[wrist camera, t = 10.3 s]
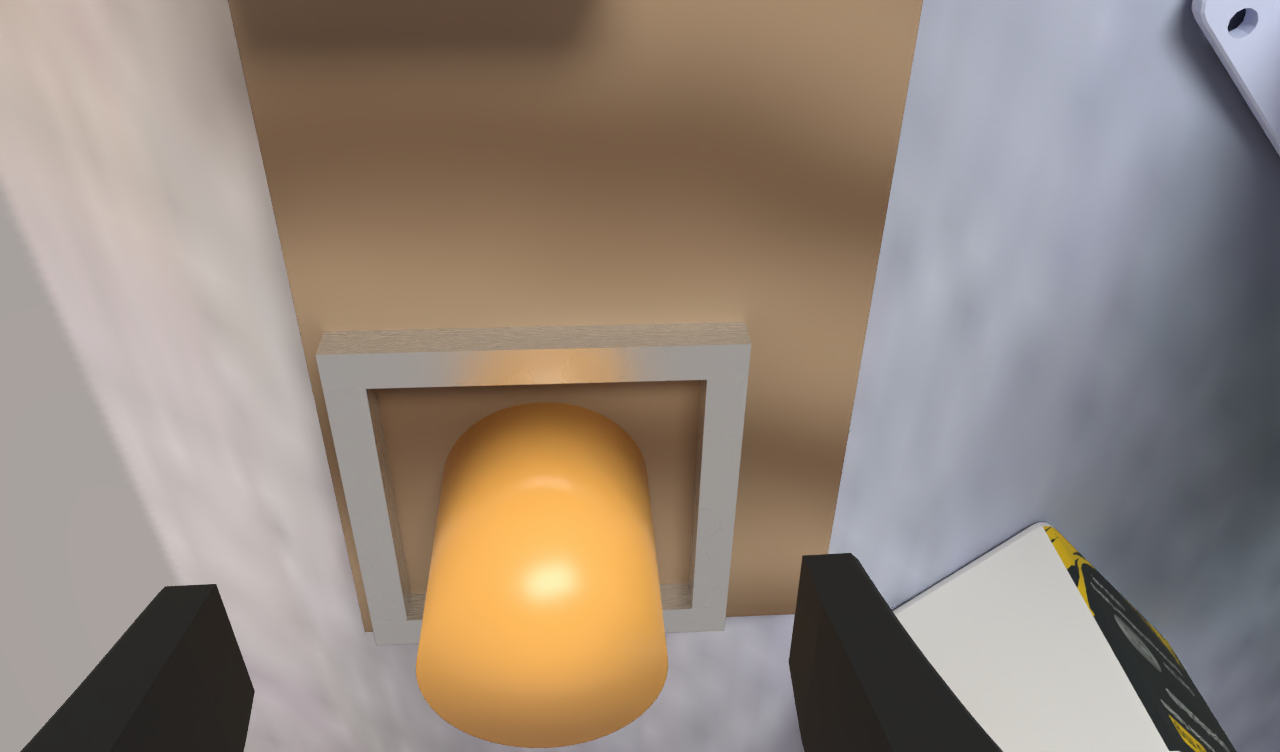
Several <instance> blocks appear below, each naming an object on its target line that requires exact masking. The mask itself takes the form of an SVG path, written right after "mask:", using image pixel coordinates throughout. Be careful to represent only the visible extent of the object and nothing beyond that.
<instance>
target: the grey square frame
mask: <svg viewBox="0 0 1280 752" xmlns="http://www.w3.org/2000/svg"><path fill="white" fill-rule="evenodd" d="M750 353H751V341H750V338H749V334H748V331H747V327H746V324H745V322H707V323H664V324H621V325H578V326H535V327H492V328H449V329H406V330H363V331H324V332H323V335H322V338H321V341H320V343H319V346H318V349H317V352H316V360H317V365H318V369H319V374H320V379H321V384H322V389H323V393H324V398H325V403H326V408H327V412H328V417H329V422H330V427H331V431H332V436H333V441H334V446H335V451H336V455H337V460H338V465H339V470H340V474H341V479H342V484H343V489H344V493H345V498H346V503H347V508H348V512H349V517H350V522H351V527H352V532H353V536H354V541H355V546H356V551H357V555H358V560H359V565H360V570H361V574H362V579H363V584H364V589H365V594H366V598H367V603H368V608H369V613H370V617H371V622H372V627H373V632H374V636H375V641H376V645H396V644H419V641H420V634H421V627H422V620H423V613H424V606H425V599H426V593H422V594H411V588H410V582H409V576H408V571H407V565H406V559H405V553H404V547H403V541H402V536H401V530H400V524H399V518H398V512H397V506H396V500H395V495H394V489H393V483H392V477H391V471H390V465H389V460H388V454H387V448H386V442H385V436H384V430H383V425H382V419H381V413H380V407H379V401H378V395H377V390H376V389H379V388H416V387H453V386H491V385H528V384H565V383H603V382H640V381H677V380H701V385H700V401H699V418H698V434H697V451H696V467H695V484H694V500H693V516H692V533H691V549H690V566H689V582H688V583H675V584H660V593H661V602H662V611H663V620H664V629H665V633H678V632H702V631H724V628H725V618H726V607H727V597H728V586H729V575H730V565H731V554H732V544H733V533H734V522H735V512H736V501H737V491H738V480H739V469H740V459H741V448H742V438H743V427H744V416H745V406H746V395H747V385H748V374H749V363H750Z"/></svg>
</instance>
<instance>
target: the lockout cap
mask: <svg viewBox="0 0 1280 752" xmlns="http://www.w3.org/2000/svg"><path fill="white" fill-rule="evenodd" d="M667 671H668V656H667V647H666V638H665V629H664V620H663V611H662V602H661V593H660V584H659V575H658V566H657V557H656V548H655V539H654V530H653V521H652V512H651V503H650V494H649V485H648V476H647V469H646V464H645V460H644V458H643V456H642V453H641V451H640V449H639V448H638V446H637V444H636V443H635V441H634V440H633V439H632V438H631V437H630V435H629V434H628V433H627V432H626V431H625V430H623V429H622V428H621V427H620V426H619V425H618V424H616V423H615V422H613V421H612V420H610V419H609V418H607V417H605V416H603V415H601V414H599V413H597V412H594V411H592V410H589V409H586V408H583V407H579V406H575V405H571V404H564V403H556V402H537V403H526V404H521V405H516V406H512V407H509V408H505V409H502V410H499V411H497V412H495V413H492V414H490V415H488V416H486V417H485V418H483V419H481V420H479V421H478V422H476V423H475V424H474V425H472V426H471V427H470V428H468V429H467V430H466V431H465V432H464V433H463V434H462V435H461V436H460V437H459V439H458V440H457V441H456V443H455V444H454V446H453V447H452V449H451V451H450V453H449V455H448V457H447V460H446V463H445V466H444V473H443V480H442V487H441V494H440V501H439V508H438V515H437V522H436V529H435V536H434V543H433V550H432V557H431V564H430V571H429V578H428V585H427V592H426V599H425V606H424V613H423V620H422V627H421V634H420V641H419V648H418V655H417V662H416V676H417V681H418V685H419V688H420V690H421V692H422V694H423V696H424V698H425V700H426V701H427V703H428V704H429V705H430V707H431V708H432V709H433V710H434V711H435V712H436V713H437V714H438V715H439V716H440V717H441V718H443V719H444V720H445V721H447V722H448V723H449V724H451V725H453V726H454V727H456V728H458V729H459V730H461V731H463V732H465V733H468V734H470V735H472V736H474V737H477V738H480V739H483V740H486V741H489V742H493V743H498V744H502V745H508V746H515V747H526V748H552V747H563V746H569V745H575V744H580V743H584V742H588V741H592V740H595V739H598V738H601V737H603V736H606V735H608V734H611V733H613V732H615V731H617V730H619V729H621V728H623V727H625V726H626V725H628V724H630V723H631V722H633V721H634V720H635V719H637V718H638V717H639V716H641V715H642V714H643V713H644V712H645V711H646V710H647V709H648V708H649V707H650V706H651V705H652V704H653V702H654V701H655V700H656V699H657V697H658V695H659V694H660V692H661V690H662V688H663V686H664V683H665V680H666V677H667Z"/></svg>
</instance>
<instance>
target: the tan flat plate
mask: <svg viewBox="0 0 1280 752" xmlns="http://www.w3.org/2000/svg"><path fill="white" fill-rule="evenodd" d="M228 3H229V7H230V12H231V17H232V21H233V26H234V30H235V35H236V40H237V44H238V49H239V53H240V58H241V63H242V67H243V72H244V76H245V81H246V86H247V90H248V95H249V99H250V104H251V109H252V113H253V118H254V122H255V127H256V132H257V136H258V141H259V146H260V150H261V155H262V159H263V164H264V169H265V173H266V178H267V182H268V187H269V192H270V196H271V201H272V205H273V210H274V215H275V219H276V224H277V228H278V233H279V238H280V242H281V247H282V251H283V256H284V261H285V265H286V270H287V274H288V279H289V284H290V288H291V293H292V298H293V302H294V307H295V311H296V316H297V321H298V325H299V330H300V334H301V339H302V344H303V348H304V353H305V357H306V362H307V367H308V371H309V376H310V380H311V385H312V390H313V394H314V399H315V403H316V408H317V413H318V417H319V422H320V427H321V431H322V436H323V440H324V445H325V450H326V454H327V459H328V463H329V468H330V473H331V477H332V482H333V486H334V491H335V496H336V500H337V505H338V509H339V514H340V519H341V523H342V528H343V532H344V537H345V542H346V546H347V551H348V555H349V560H350V565H351V569H352V574H353V579H354V583H355V588H356V592H357V597H358V602H359V606H360V611H361V615H362V620H363V625H364V629H365V632H373V627H372V622H371V617H370V613H369V608H368V603H367V598H366V594H365V589H364V584H363V579H362V574H361V570H360V565H359V560H358V555H357V551H356V546H355V541H354V536H353V532H352V527H351V522H350V517H349V512H348V508H347V503H346V498H345V493H344V489H343V484H342V479H341V474H340V470H339V465H338V460H337V455H336V451H335V446H334V441H333V436H332V431H331V427H330V422H329V417H328V412H327V408H326V403H325V398H324V393H323V389H322V384H321V379H320V374H319V369H318V365H317V360H316V352H317V349H318V346H319V343H320V341H321V338H322V335H323V332H324V331H363V330H406V329H449V328H492V327H535V326H578V325H621V324H664V323H707V322H745V324H746V327H747V331H748V334H749V338H750V341H751V353H750V363H749V374H748V385H747V395H746V406H745V416H744V427H743V438H742V448H741V459H740V469H739V480H738V491H737V501H736V512H735V522H734V533H733V544H732V554H731V565H730V575H729V586H728V597H727V607H726V617H735V616H759V615H783V614H795V610H796V602H797V594H798V587H799V579H800V571H801V563H802V555H822V554H828V549H829V543H830V538H831V532H832V526H833V520H834V514H835V509H836V503H837V497H838V491H839V485H840V480H841V474H842V468H843V462H844V456H845V451H846V445H847V439H848V433H849V427H850V422H851V416H852V410H853V404H854V398H855V393H856V387H857V381H858V375H859V369H860V364H861V358H862V352H863V346H864V340H865V335H866V329H867V323H868V317H869V311H870V306H871V300H872V294H873V288H874V282H875V277H876V271H877V265H878V259H879V253H880V248H881V242H882V236H883V230H884V224H885V219H886V213H887V207H888V201H889V195H890V190H891V184H892V178H893V172H894V166H895V161H896V155H897V149H898V143H899V137H900V132H901V126H902V120H903V114H904V108H905V103H906V97H907V91H908V85H909V79H910V74H911V68H912V62H913V56H914V50H915V45H916V39H917V33H918V27H919V21H920V16H921V10H922V4H923V0H228ZM700 385H701V380H677V381H640V382H603V383H565V384H528V385H491V386H453V387H416V388H379V389H376V390H377V395H378V401H379V407H380V413H381V419H382V425H383V430H384V436H385V442H386V448H387V454H388V460H389V465H390V471H391V477H392V483H393V489H394V495H395V500H396V506H397V512H398V518H399V524H400V530H401V536H402V541H403V547H404V553H405V559H406V565H407V571H408V576H409V582H410V588H411V594H422V593H426V592H427V585H428V578H429V571H430V564H431V557H432V550H433V543H434V536H435V529H436V522H437V515H438V508H439V501H440V494H441V487H442V480H443V473H444V466H445V463H446V460H447V457H448V455H449V453H450V451H451V449H452V447H453V446H454V444H455V443H456V441H457V440H458V439H459V437H460V436H461V435H462V434H463V433H464V432H465V431H466V430H467V429H468V428H470V427H471V426H472V425H474V424H475V423H476V422H478V421H479V420H481V419H483V418H485V417H486V416H488V415H490V414H492V413H495V412H497V411H499V410H502V409H505V408H509V407H512V406H516V405H521V404H526V403H537V402H556V403H564V404H571V405H575V406H579V407H583V408H586V409H589V410H592V411H594V412H597V413H599V414H601V415H603V416H605V417H607V418H609V419H610V420H612V421H613V422H615V423H616V424H618V425H619V426H620V427H621V428H622V429H623V430H625V431H626V432H627V433H628V434H629V435H630V437H631V438H632V439H633V440H634V441H635V443H636V444H637V446H638V448H639V449H640V451H641V453H642V456H643V458H644V460H645V464H646V469H647V476H648V485H649V494H650V503H651V512H652V521H653V530H654V539H655V548H656V557H657V566H658V575H659V584H675V583H688V582H689V566H690V549H691V533H692V516H693V500H694V484H695V467H696V451H697V434H698V418H699V401H700Z"/></svg>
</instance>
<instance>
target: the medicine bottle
mask: <svg viewBox="0 0 1280 752" xmlns="http://www.w3.org/2000/svg"><path fill="white" fill-rule="evenodd" d="M893 613H894V614H895V616H896V617H897V619H898V620H899V621H900V623H901V624H902V625H903V627H904V628H905V630H906V631H907V632H908V634H909V635H910V637H911V638H912V639H913V641H914V642H915V643H916V645H917V646H918V647H919V649H920V650H921V651H922V653H923V654H924V655H925V657H926V658H927V659H928V661H929V662H930V663H931V665H932V666H933V667H934V668H935V670H936V671H937V672H938V674H939V675H940V676H941V677H942V679H943V680H944V681H945V682H946V684H947V685H948V686H949V687H950V689H951V690H952V691H953V693H954V694H955V695H956V696H957V698H958V699H959V700H960V701H961V703H962V704H963V705H964V706H965V708H966V709H967V710H968V711H969V712H970V714H971V715H972V716H973V717H974V718H975V720H976V721H977V722H978V723H979V724H980V726H981V727H982V728H983V729H984V730H985V731H986V733H987V734H988V735H989V736H990V737H991V738H992V739H993V741H994V742H995V743H996V744H997V745H998V746H999V747H1000V749H1001V750H1002V751H1003V752H1236V750H1235V749H1234V747H1233V745H1232V744H1231V742H1230V741H1229V739H1228V737H1227V736H1226V734H1225V733H1224V731H1223V729H1222V728H1221V726H1220V725H1219V723H1218V721H1217V720H1216V718H1215V717H1214V715H1213V713H1212V712H1211V710H1210V709H1209V707H1208V705H1207V704H1206V702H1205V701H1204V699H1203V697H1202V696H1201V694H1200V693H1199V691H1198V689H1197V688H1196V686H1195V685H1194V683H1193V681H1192V680H1191V678H1190V677H1189V675H1188V673H1187V672H1186V670H1185V669H1184V667H1183V666H1182V664H1181V662H1180V661H1179V659H1178V658H1177V656H1176V654H1175V653H1174V651H1173V650H1172V648H1171V646H1170V645H1169V643H1168V642H1167V641H1166V640H1165V639H1164V638H1163V637H1162V636H1161V635H1160V634H1159V633H1158V632H1157V631H1156V630H1155V629H1154V628H1153V627H1152V626H1151V625H1150V624H1149V623H1148V621H1147V620H1146V619H1145V618H1144V617H1143V616H1142V615H1141V614H1140V613H1139V612H1138V611H1137V610H1136V609H1135V608H1134V607H1133V606H1132V605H1131V604H1130V603H1129V602H1128V601H1127V600H1126V599H1125V598H1124V597H1123V596H1122V595H1121V594H1120V593H1119V592H1118V591H1117V590H1116V589H1115V588H1114V587H1113V586H1112V585H1111V584H1110V583H1109V582H1108V581H1107V580H1106V579H1105V578H1104V577H1103V576H1102V575H1101V574H1100V573H1099V572H1098V571H1097V570H1096V569H1095V568H1094V567H1093V566H1092V565H1091V564H1090V563H1089V562H1088V561H1087V560H1086V559H1085V558H1084V557H1083V556H1082V555H1081V554H1080V553H1079V552H1078V551H1077V550H1076V549H1075V548H1074V547H1073V546H1072V545H1071V544H1070V543H1069V542H1068V541H1067V540H1066V539H1065V538H1064V537H1063V536H1062V535H1061V534H1060V533H1059V532H1058V531H1057V530H1056V529H1055V528H1054V527H1053V526H1052V525H1050V524H1048V523H1046V522H1040V523H1035V524H1033V525H1031V526H1030V527H1028V528H1027V529H1025V530H1023V531H1022V532H1020V533H1018V534H1017V535H1015V536H1014V537H1012V538H1010V539H1009V540H1007V541H1005V542H1004V543H1002V544H1001V545H999V546H997V547H996V548H994V549H992V550H991V551H989V552H988V553H986V554H984V555H983V556H981V557H979V558H978V559H976V560H975V561H973V562H971V563H970V564H968V565H966V566H965V567H963V568H962V569H960V570H958V571H957V572H955V573H953V574H952V575H950V576H949V577H947V578H945V579H944V580H942V581H941V582H939V583H937V584H936V585H934V586H932V587H931V588H929V589H928V590H926V591H924V592H923V593H921V594H919V595H918V596H916V597H915V598H913V599H911V600H910V601H908V602H906V603H905V604H903V605H902V606H900V607H898V608H897V609H895V610H893Z"/></svg>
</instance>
